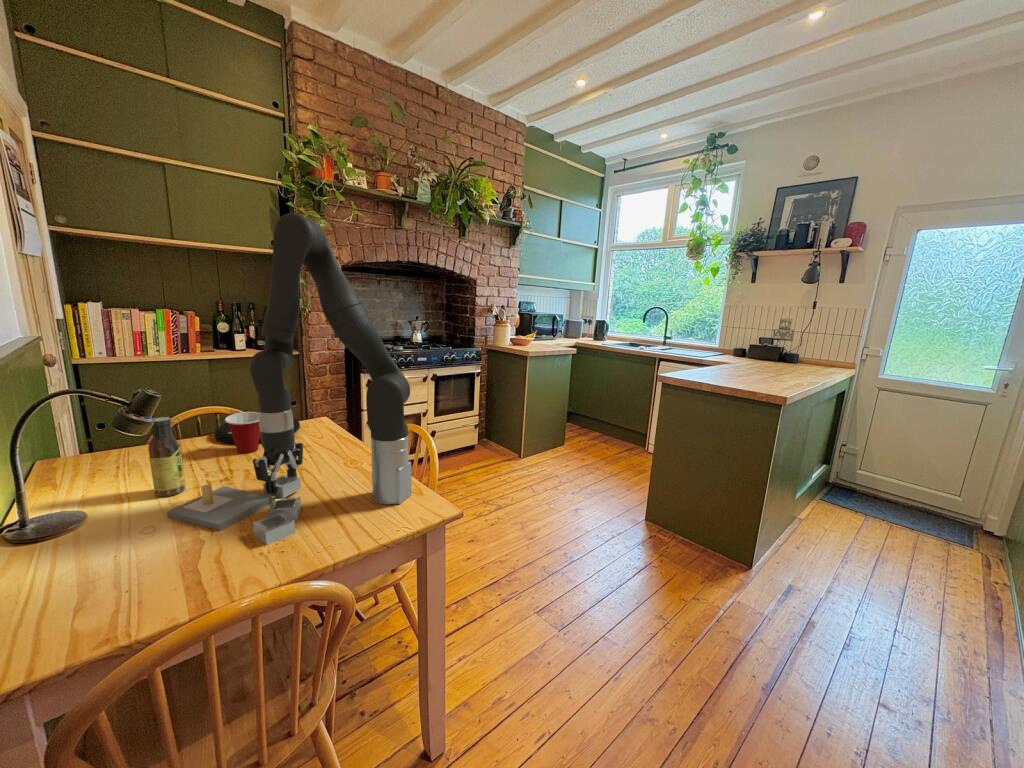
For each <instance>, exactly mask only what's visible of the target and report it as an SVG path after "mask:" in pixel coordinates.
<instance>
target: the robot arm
mask: <svg viewBox="0 0 1024 768" xmlns="http://www.w3.org/2000/svg"><path fill="white" fill-rule="evenodd" d="M272 236H273V241H272V261H271V262H272V264H271V276H270V285H269V286H270V287H269V294H268V300H267V304H266V309H265V313H264V317H263V318H264V319H263V321H262V322H263V323H262V328H261V333H262V335H263V336H264V338H265V339H264V347H263V350H260V351H258V352H256V353H255V354H254V355H252V357H251V359H250V362H249V363H250V364H249V371H250V376H251V378H252V382H253V386H254V389H255V390H256V394H257V399H258V401H257V402H258V410H259V412H258V413H259V425H260V436H261V443H260V444H261V447H262V448H263V449H264V450H263V454H262V456H261V457H259V458H256V457H255V458H253V460H252V464H253V468H254V472H255V476H256V480H257V481H262V482H264V483H265V485H266V491H267V492H268V493H270V494H275V493H276V481H275V480H274V479H275V478H276V476H277V473H278V472H279V470H280V468H281V466H283V464H284V465H285V466H286V468H287V469H286V476H291V477H297V478H298V475H297V469H298V467H299V466H301V465H303V463H304V462H303V461H304V460H303V459H304V457H303V456H304V454H303V453H304V444H303V443H302V442H297V441H295V440H296V438H295V433H294V424H293V418H294V416H293V411H292V403H291V401H292V400H291V394H290V389H289V388H288V387H287V386H285V383H284V379H283V374H285V373H287V372H288V370H289V369H290V368H291V365H292V363H293V362H292V361H293V358H294V345H295V344H294V337H295V334H296V329H297V326H298V321H299V317H300V312H301V311H300V310H301V296H300V276H301V271H302V267H303V265H304V267H305V268H306V269H307V271H308V273H309V275H310V276H311V278H312V280H313V282H314V284H315V286H316V291H317V295H318V298H319V299H318V300H319V304H320V307H321V309H322V312H323V314H324V317H325V319H326V321H327V322H328V324H329V326H330V327H331V329H332V331H333V333H334V334H335V336H336V337H337V339H338V340H339V341H340V342H341V343H342V344H343V345H344V347H346V348H347V349H348V350H349V351H350V352H351V353H352V354H353V355H354V356H355V357H356V358H357V359H358V360H359V361H360V363H362V365H363V367H364V368H365V370H366V372H367V373H368V375H369V377H370V379H371V382H369V385H368V386H367V390H366V396H365V398H366V399H365V402H366V403H365V404H366V418H367V426H368V429H369V430H370V442H371V444H370V448H371V450H370V451H371V454H370V455H371V485H372V489H371V491H372V500H373V501H374V503H377V504H380V505H401V504H403V503H404V502H405V501H406V499H408V498H409V497H410V496H411V495H413V494H412V493H413V492H412V490H413V489H412V487H413V486H412V461H410V460H409V427H408V424H407V423H406V422H405V405H404V404H405V403H406V402H407V401H408V400H409V398H410V396H411V386H410V383H409V381H408V379H407V377H406V376H405V375H404V373H403V371H401V368H399V366H398V365H397V363H396V362H395V360H394V359H393V357H392V356H391V354H390V353H389V352H388V350H387V348H386V346H385V343H384V342H383V340H382V339H381V337H380V335H379V332H378V330H377V329H376V327H375V325H374V323H373V321H372V320H371V316H370V315H369V313H368V312H367V309H366V308H365V307H364V304H363V303H362V301H361V300H360V298H359V297H358V294H357V293H356V291H355V290H354V288H353V286H352V285H351V283H350V281H349V280H348V278H347V276H346V275H345V273H344V272H343V270H342V269H341V267H340V265H339V262H338V260H337V258H336V256H335V253H334V251H333V249H332V247H331V244H330V241H329V240H328V237H327V235H326V233H325V231H324V230H323V228H321V226H320V225H319V224H318V223H316V222H315V221H313V220H311V219H309V218H307V217H305V216H303V215H301V214H299V213H294V212H293V213H292V212H291V213H290V212H289V213H286V214H283V215H281V216H280V217H279V218H278V219H277V221H276V222H275V225H274V229H273V235H272ZM271 466H273V467H271Z"/></svg>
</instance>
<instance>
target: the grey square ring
mask: <svg viewBox="0 0 1024 768" xmlns="http://www.w3.org/2000/svg"><path fill="white" fill-rule="evenodd" d="M274 480H275V481H276V493H275V494H270V493H268V492H267V491H266V485H265V482H263V493H264V494H263V495H267V496H272V497H274V498H278V499H283V498H287V497H288V496H290V495H292V494H294V493H296V492H297V491H300V490H301V488H302V486H301V485H302V484H301V478H300V477H298V476H297V477H291V476H287V474H286V475H285V474H280V475H278V476H277V477H276V476H275V479H274Z"/></svg>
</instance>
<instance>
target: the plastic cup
mask: <svg viewBox="0 0 1024 768" xmlns="http://www.w3.org/2000/svg"><path fill="white" fill-rule="evenodd" d="M224 421H225V423H228V426H229V428H230V430H231V431H230V433H231V434H232V437H233V440H234V443H235V444H234V445H235V448H236V451H237V453H238V454H243V455H244V454H251V453H255V452H257V451H258V450H259V445H260V443H259V439H260V425H259V412H256V411H245V412H244V411H243V412H237V413H232V414H230V415H228V416H226V417H225V419H224Z"/></svg>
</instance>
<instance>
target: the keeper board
mask: <svg viewBox="0 0 1024 768" xmlns="http://www.w3.org/2000/svg"><path fill="white" fill-rule="evenodd" d="M200 488H201V496H199V497H196V498H194V499H192V500H189V501H187V502H185V503H184V504H180V505H178V506H176V507H174V508H172V509H169V510H167V511H166V515H167V516H166V517H167V518H168V519H173V520H177V521H180V522H185V523H189V524H193V525H196V526H200V527H204V528H209V529H213V530H216V531H222V530H224V529H227V528H228V527H229V526H232V525H233V524H235V523H238V522H239V521H241V520H243V519H245V518H247V517H248V516H251V515H252V514H253V513H256V512H257V511H259V510H260V509H263V508H264V507H267V506H269V505H271V503H272V501H273V496H269V495H264V494H261V493H259V492H258V493H257V492H252V491H247V490H243V489H238V488H233V487H230V486H221V487H219V488H217V489H214V490H213V486H212V484H211V483H210V484H204V485H202V486H200Z"/></svg>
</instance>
